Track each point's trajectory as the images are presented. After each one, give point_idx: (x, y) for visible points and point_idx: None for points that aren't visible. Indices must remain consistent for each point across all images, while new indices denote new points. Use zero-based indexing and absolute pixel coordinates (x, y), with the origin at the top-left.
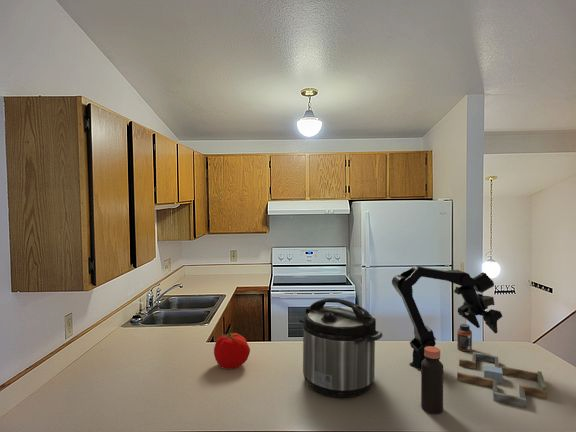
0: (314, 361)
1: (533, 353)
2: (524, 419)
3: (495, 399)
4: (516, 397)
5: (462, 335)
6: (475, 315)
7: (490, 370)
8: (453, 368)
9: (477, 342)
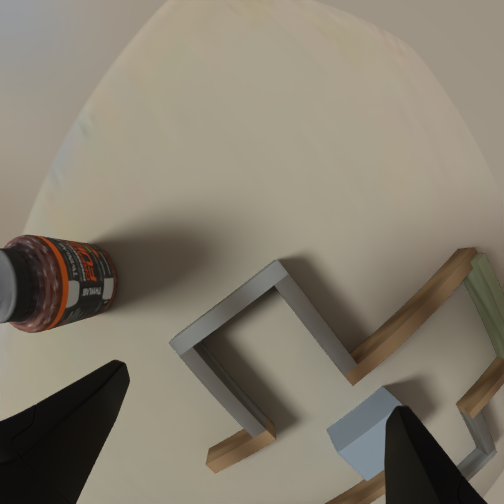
0: None
1: (277, 28)
2: (488, 474)
3: None
4: (479, 467)
5: (50, 327)
6: (17, 456)
7: (383, 462)
8: (227, 487)
9: (71, 141)
